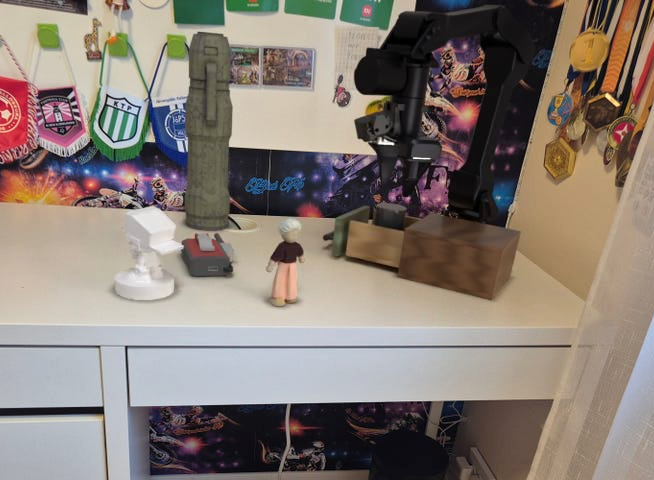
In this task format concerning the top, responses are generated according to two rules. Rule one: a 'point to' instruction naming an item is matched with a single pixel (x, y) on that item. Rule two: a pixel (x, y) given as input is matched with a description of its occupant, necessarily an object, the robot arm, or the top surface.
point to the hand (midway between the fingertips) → (394, 190)
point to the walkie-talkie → (207, 255)
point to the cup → (390, 216)
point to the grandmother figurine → (286, 263)
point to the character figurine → (147, 255)
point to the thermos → (208, 132)
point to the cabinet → (458, 255)
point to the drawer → (367, 238)
